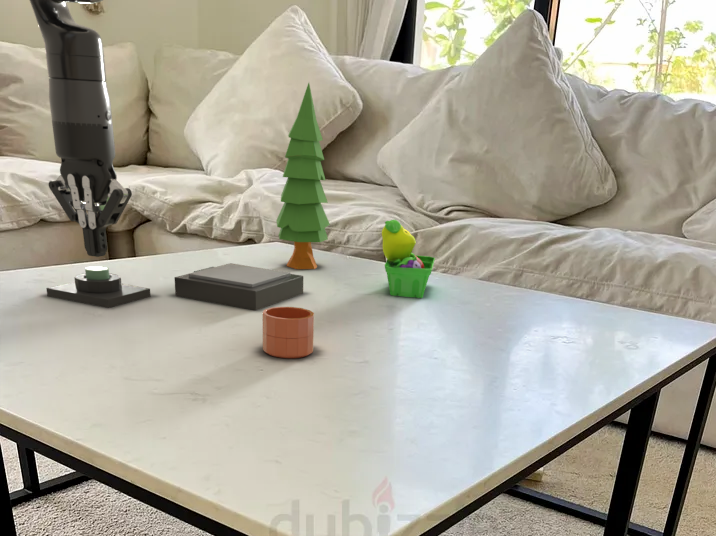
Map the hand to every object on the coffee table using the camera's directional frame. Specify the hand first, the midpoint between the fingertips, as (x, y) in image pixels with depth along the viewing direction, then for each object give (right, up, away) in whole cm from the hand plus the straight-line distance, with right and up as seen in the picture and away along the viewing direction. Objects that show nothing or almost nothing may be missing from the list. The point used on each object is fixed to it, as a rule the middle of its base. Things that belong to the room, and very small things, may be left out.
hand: (97, 255), depth 111 cm
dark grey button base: (-1, -5, +3) cm, 6 cm away
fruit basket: (+44, 0, +20) cm, 48 cm away
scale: (+19, -3, +9) cm, 21 cm away
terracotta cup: (+29, -17, -16) cm, 37 cm away
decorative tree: (+26, +8, +32) cm, 42 cm away
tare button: (0, -3, +2) cm, 3 cm away
